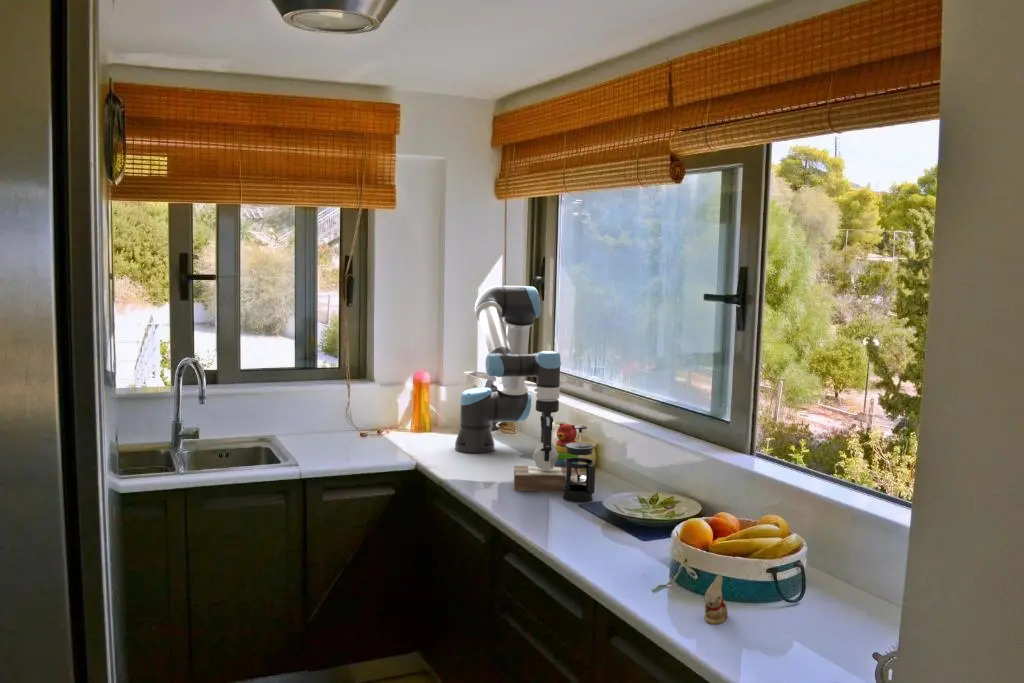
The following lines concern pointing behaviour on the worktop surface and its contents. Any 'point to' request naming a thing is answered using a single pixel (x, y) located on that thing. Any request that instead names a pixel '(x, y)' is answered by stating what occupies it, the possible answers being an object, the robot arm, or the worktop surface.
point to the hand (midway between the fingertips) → (545, 466)
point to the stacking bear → (565, 436)
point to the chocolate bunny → (715, 603)
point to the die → (538, 455)
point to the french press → (576, 490)
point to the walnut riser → (540, 478)
